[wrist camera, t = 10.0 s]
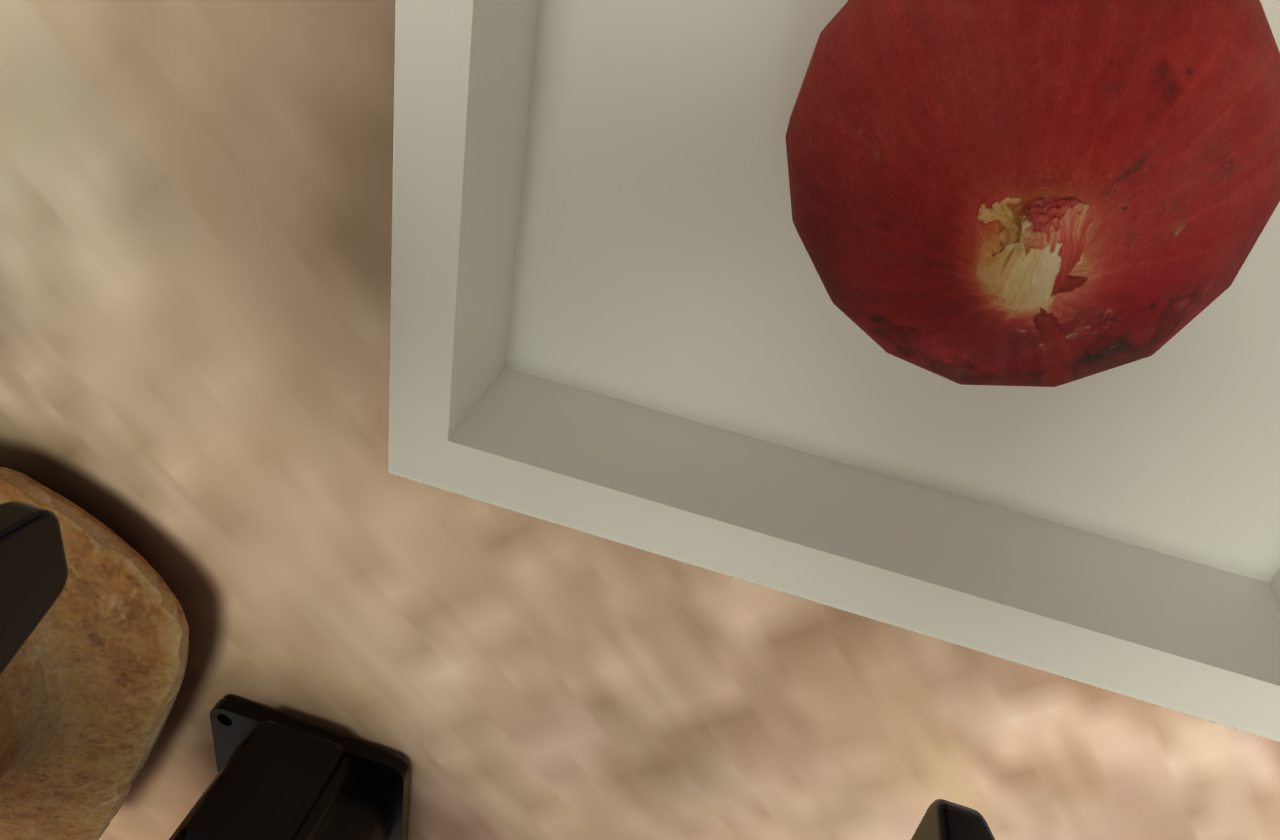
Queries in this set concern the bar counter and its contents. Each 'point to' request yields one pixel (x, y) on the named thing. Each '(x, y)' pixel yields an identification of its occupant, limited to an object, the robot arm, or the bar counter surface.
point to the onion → (1034, 175)
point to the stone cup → (86, 682)
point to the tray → (797, 366)
